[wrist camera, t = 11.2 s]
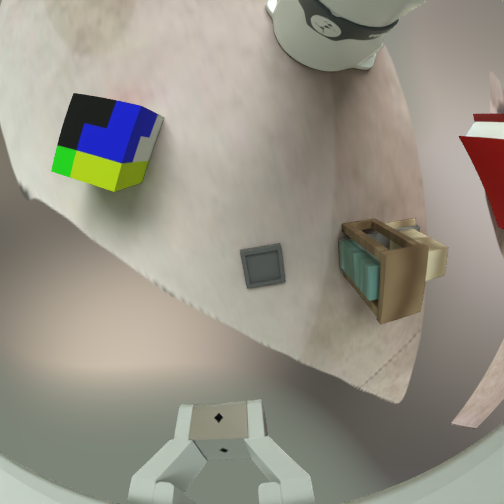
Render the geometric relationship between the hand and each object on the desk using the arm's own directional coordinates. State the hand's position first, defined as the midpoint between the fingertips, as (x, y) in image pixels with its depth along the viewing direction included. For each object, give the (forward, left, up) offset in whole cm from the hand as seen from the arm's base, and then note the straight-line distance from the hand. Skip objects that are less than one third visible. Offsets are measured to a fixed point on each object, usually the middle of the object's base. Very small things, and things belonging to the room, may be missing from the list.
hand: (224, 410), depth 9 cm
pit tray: (+4, +8, -32) cm, 33 cm away
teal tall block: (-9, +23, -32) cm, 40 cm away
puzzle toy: (-2, -20, -33) cm, 38 cm away
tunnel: (-6, +20, -32) cm, 38 cm away
